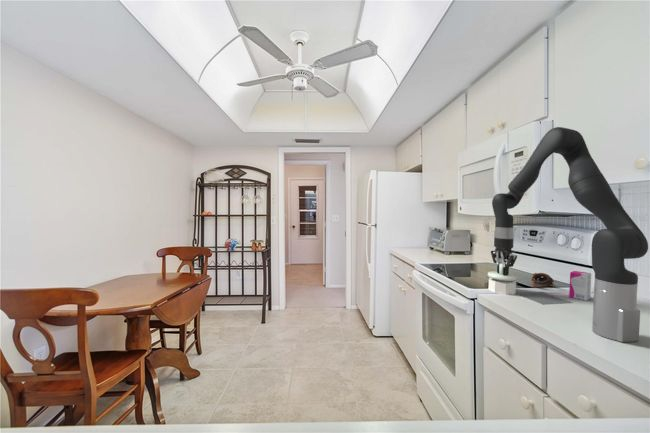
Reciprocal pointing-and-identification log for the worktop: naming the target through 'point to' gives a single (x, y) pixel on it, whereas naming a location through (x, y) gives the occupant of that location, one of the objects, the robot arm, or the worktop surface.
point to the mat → (543, 298)
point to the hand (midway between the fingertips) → (502, 274)
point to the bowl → (502, 286)
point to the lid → (500, 275)
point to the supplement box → (580, 285)
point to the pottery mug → (541, 280)
